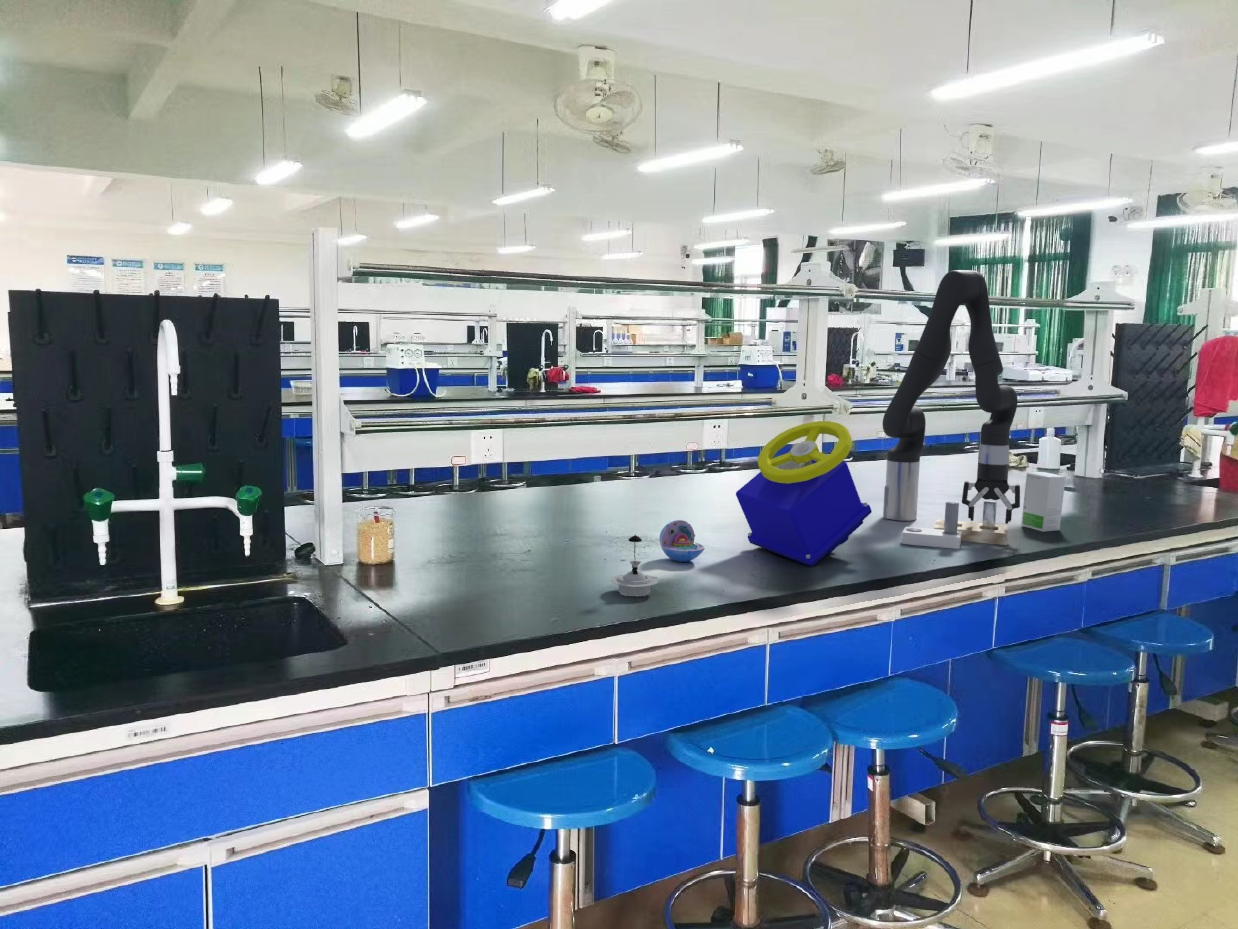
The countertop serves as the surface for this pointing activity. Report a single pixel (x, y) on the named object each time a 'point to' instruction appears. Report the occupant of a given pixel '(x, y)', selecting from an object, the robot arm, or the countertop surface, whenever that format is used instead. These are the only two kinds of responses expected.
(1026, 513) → the skincare box
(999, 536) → the pin board
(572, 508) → the countertop surface
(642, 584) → the white domed rod stand
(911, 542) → the block
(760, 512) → the control box
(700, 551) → the cell model
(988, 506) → the steel pin
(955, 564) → the countertop surface
